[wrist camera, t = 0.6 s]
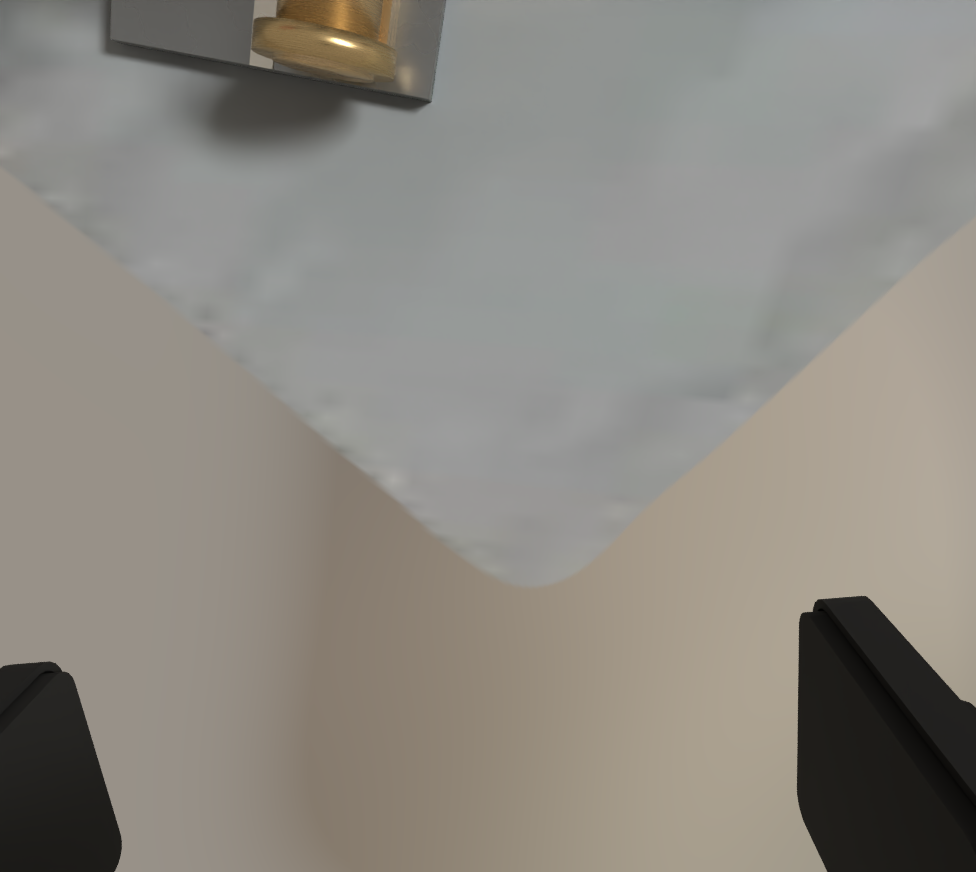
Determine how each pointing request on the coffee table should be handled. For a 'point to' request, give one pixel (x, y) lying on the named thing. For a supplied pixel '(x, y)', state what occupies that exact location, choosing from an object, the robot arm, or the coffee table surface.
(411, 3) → the valve
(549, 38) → the coffee table surface
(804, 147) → the coffee table surface
